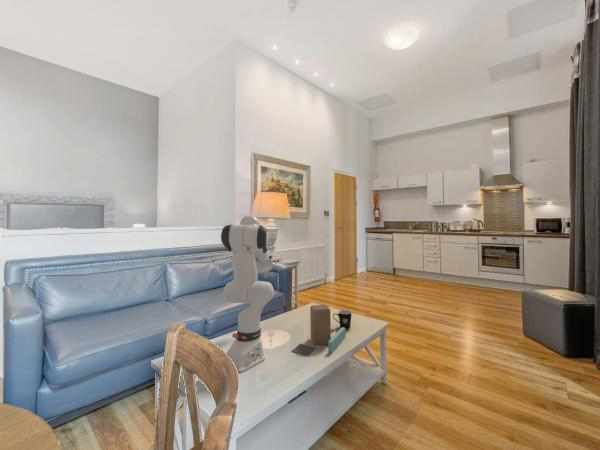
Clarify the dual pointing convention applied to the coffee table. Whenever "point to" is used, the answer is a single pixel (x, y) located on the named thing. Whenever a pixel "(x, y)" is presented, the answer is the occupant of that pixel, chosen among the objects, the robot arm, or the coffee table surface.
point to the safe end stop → (336, 340)
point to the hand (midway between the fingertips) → (261, 279)
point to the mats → (305, 348)
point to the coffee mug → (344, 318)
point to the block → (320, 324)
